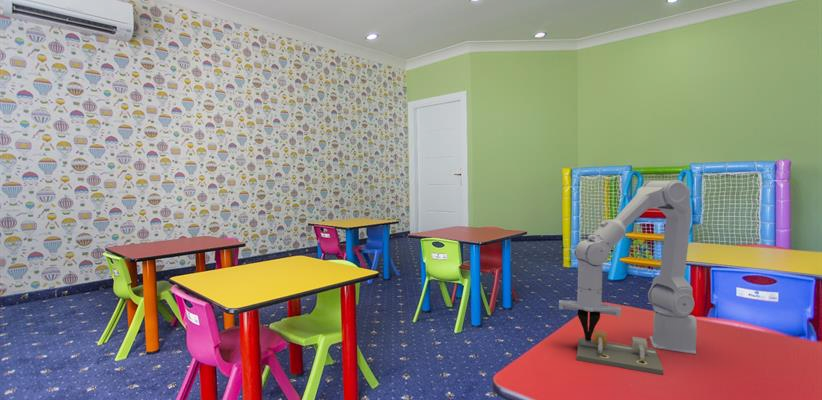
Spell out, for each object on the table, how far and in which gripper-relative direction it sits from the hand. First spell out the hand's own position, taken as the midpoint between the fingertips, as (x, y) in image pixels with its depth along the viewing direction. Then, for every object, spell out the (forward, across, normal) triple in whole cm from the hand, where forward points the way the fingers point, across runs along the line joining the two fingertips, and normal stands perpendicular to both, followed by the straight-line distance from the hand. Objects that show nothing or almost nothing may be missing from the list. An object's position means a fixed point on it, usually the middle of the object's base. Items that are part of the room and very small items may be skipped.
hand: (588, 339), depth 106 cm
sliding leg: (+1, +3, -2) cm, 4 cm away
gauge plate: (+2, +7, -2) cm, 7 cm away
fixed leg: (+1, +12, -2) cm, 12 cm away
